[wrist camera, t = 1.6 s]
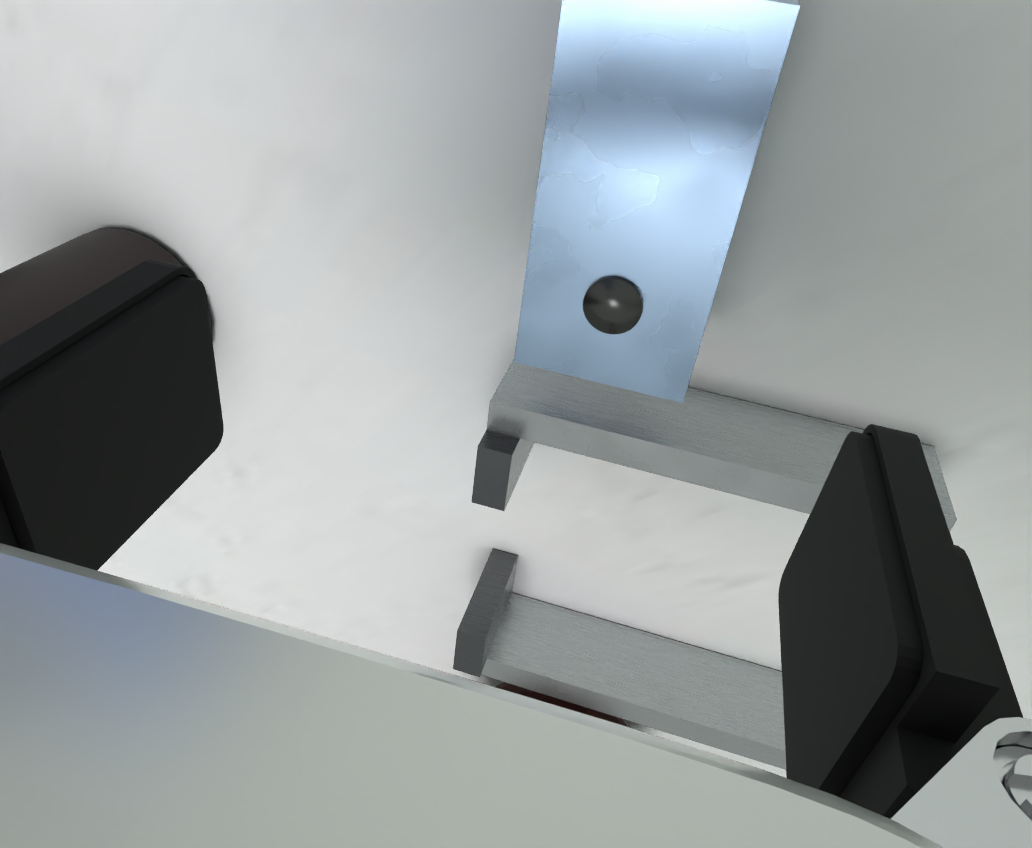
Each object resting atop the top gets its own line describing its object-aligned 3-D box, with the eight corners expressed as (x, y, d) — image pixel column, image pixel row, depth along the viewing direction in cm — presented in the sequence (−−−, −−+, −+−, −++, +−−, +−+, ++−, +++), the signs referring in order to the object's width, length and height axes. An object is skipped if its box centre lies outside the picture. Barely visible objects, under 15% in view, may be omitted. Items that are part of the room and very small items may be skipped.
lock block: (792, -16, 21) (800, 6, 16) (698, 313, 26) (682, 406, 21) (612, -45, 21) (564, -32, 16) (558, 282, 27) (512, 365, 22)
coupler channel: (933, 446, 27) (963, 541, 22) (797, 695, 35) (800, 796, 31) (521, 346, 29) (480, 417, 25) (485, 602, 37) (451, 686, 33)
